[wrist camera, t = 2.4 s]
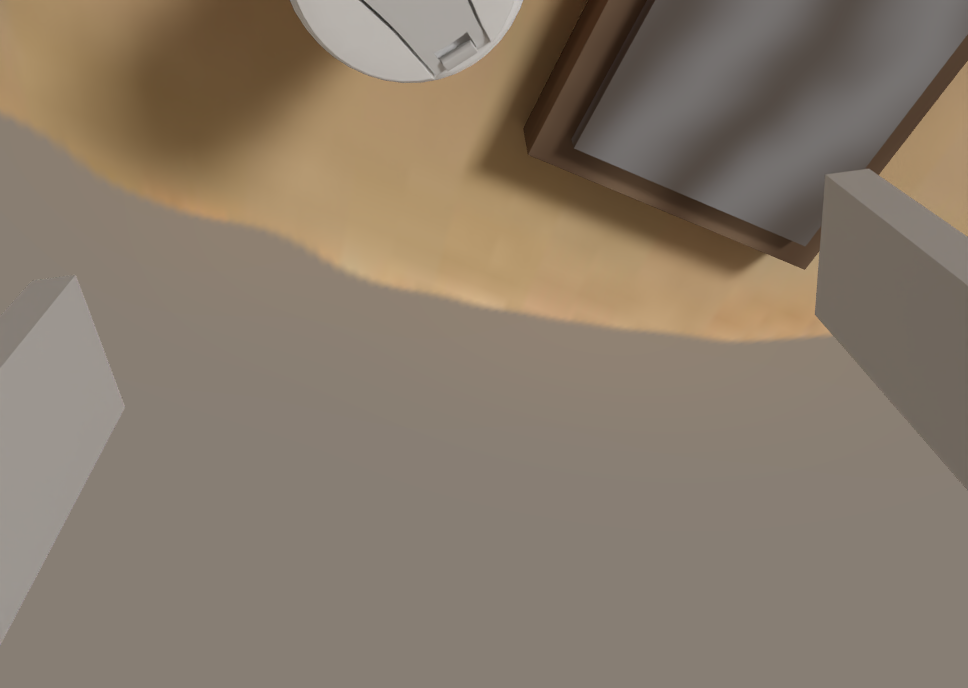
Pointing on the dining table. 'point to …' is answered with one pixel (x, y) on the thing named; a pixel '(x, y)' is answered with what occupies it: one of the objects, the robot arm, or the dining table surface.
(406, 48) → the paper cup
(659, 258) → the dining table surface
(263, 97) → the dining table surface
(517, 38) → the dining table surface
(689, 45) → the plinth
